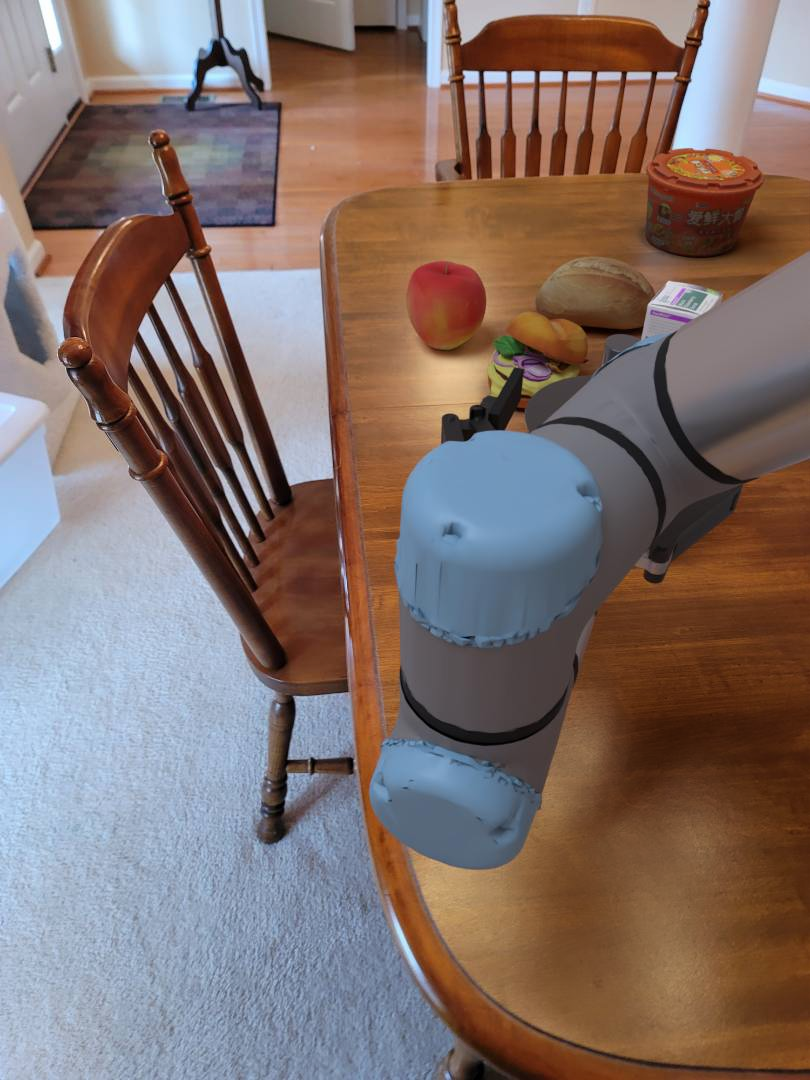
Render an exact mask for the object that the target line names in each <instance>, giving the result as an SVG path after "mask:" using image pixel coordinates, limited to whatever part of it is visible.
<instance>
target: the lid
mask: <svg viewBox="0 0 810 1080" xmlns="http://www.w3.org/2000/svg"><path fill="white" fill-rule="evenodd" d="M639 341H641V340H640V339H639V338H638V337H637V336H633V335H630V334H626V333H625V334H623V333H618V334H617V333H616V334H611V335H610V336H608V337H606V339H605V340H604V345H603V350H602V356H601V361H600V366H599V368H600V367H601V366H603V365H604V364H605V363H607V362H608V361H610V360H611V359H612V358H614V357H615V356H616V355H618V354H620V353H621V352H623V351H624V350H626V349H628V348H629V347H631V346H633V345H635V344H636V343H638V342H639ZM592 376H593V374H588V375H587V374H586V375H578V376H576V377H570V378H566V379H562V380H559V381H556V382H553V383H551V384H549V385H547V386H545V387H543V388H541V389H540V390H539V391H538V392H536V393H535V394H534V395H533V396H532V397H531V399H530V400H529V402H528V403H527V406H526V408H524V417H523V421H524V427H525V430H526V433H528V434H530V433H531V432H532V431H534V430H535V429H536V428H537V427H538V426H540V425H542V424H543V423H544V422H545V421H546V420H547V419H548V418H549V417H551V416H552V415H553V414H554V413H555V412H556V411H557V410H558V409H559V408H560V407H562V406H563V405H564V404H565V403H566V402H567V401H568V400H569V399H570V398H571V397H572V396H574V395H575V394H576V393H577V392H578V391H579V390H580V389H581V388H582V387H583V386H585V385H586V384H587V383H588V382H589V381H590V379H591V378H592Z"/></svg>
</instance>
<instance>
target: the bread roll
mask: <svg viewBox="0 0 810 1080" xmlns="http://www.w3.org/2000/svg"><path fill="white" fill-rule="evenodd" d="M656 294H657V293H656V292H655V289H654V287H653V286H652V284H651V283H650V282H649V280H648V279H646V277H645V276H644V274H643V273H641V272H640V271H638V270H637V269H636V268H634V267H633V266H632V265H630V264H628V263H627V262H625V261H623V260H622V261H621V260H618V259H616V258H611V257H602V256H584V257H579V258H578V257H577V258H575V259H572V260H570V261H568V262H566V263H564V264H562V265H560V266H559V267H558V268H557V269H556V270H554V271H553V272H552V274H550V276H549V277H548V279H546V281H545V282H544V283H543V284H542V286H541V287H540V289H538V292H537V293H536V297H535V308H536V312H537V313H539V314H541V315H543V316H545V317H546V318H548V319H549V320H553V319H565V320H568V321H571V322H573V323H575V324H577V325H579V326H580V327H592V328H603V329H616V330H632V329H633V330H634V329H637V328H638V329H639V328H642V327H644V323H645V318H646V313H647V307H648V304H649V303H650V302H651V300H652V299H653V298H654V297H655V295H656Z"/></svg>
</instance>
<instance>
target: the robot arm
mask: <svg viewBox="0 0 810 1080" xmlns="http://www.w3.org/2000/svg"><path fill="white" fill-rule="evenodd" d="M600 366H601V365H600ZM600 366H599V368H598V369H597V370H596V371H595V372H593V374H592V375H593V376H592V378H591V379H590V381H589V382H588V383H587V384H586V385H585V386H583V387H582V388H581V389H580V390H579V391H578V392H577V393H576V394H575V395H574V396H572V397H571V398H570V399H569V400H568V401H567V402H566V403H565V404H564V405H563V406H562V407H560V408H559V409H558V410H557V411H556V412H555V413H554V414H553V415H552V416H551V417H549V418H548V419H547V420H546V421H545V422H544V423H543V424H542V425H540V426H538V427H537V428H536V429H535V430H534V431H532V432H531V433H530V434H528V433H527V432H521V431H516V430H515V431H513V430H506V429H507V427H508V425H509V423H510V421H511V419H512V417H513V415H514V413H515V411H516V410H517V408H518V407H517V406H518V404H519V402H520V400H521V393H522V384H523V374H524V369H521V368H516V367H514V369H513V370H512V372H511V374H510V376H509V378H508V379H507V381H506V383H505V385H504V386H503V388H502V390H501V392H500V393H499V395H498V397H494V396H491V395H486V396H485V397H484V398H482V400H481V402H480V404H473V405H470V407H469V411H468V418H465V419H464V418H462V419H461V418H460V417H459V416H458V414H455V413H445V414H443V415H442V416H441V427H440V428H441V431H440V433H441V435H440V444H439V445H437V446H436V447H435V448H433V449H432V450H431V451H429V452H428V453H427V454H425V455H424V456H423V457H422V458H421V459H420V460H419V461H418V462H417V463H416V465H415V466H414V468H413V469H412V470H411V472H410V474H409V476H408V477H407V480H406V482H405V485H404V487H403V491H402V495H401V504H400V505H401V507H400V508H401V509H400V523H399V524H400V525H399V538H398V539H397V540H396V554H395V557H394V560H393V561H394V566H393V567H394V572H395V573H394V574H395V581H396V585H397V590H398V614H399V615H398V617H399V651H400V652H399V659H400V661H399V662H400V666H399V673H398V690H399V694H398V695H399V698H398V699H399V709H398V714H397V718H396V722H395V724H394V726H393V729H392V730H391V732H390V734H389V736H388V738H386V739H385V740H383V741H382V743H381V745H380V752H381V753H380V754H379V758H378V760H377V763H376V766H375V769H374V771H373V774H372V777H371V780H370V783H369V788H368V789H369V790H368V796H369V797H368V798H369V802H370V803H369V804H370V805H371V807H372V808H371V809H372V810H373V812H374V815H375V817H376V818H377V820H378V821H379V823H380V824H381V825H382V826H383V827H384V828H385V830H387V831H388V833H390V835H391V836H393V838H395V839H396V840H397V841H399V842H400V843H402V844H403V845H405V846H406V847H407V848H409V849H411V850H412V851H414V852H416V853H417V854H419V855H422V856H423V857H425V858H428V859H430V860H433V861H437V862H439V863H441V864H444V865H446V866H449V867H454V868H457V869H464V870H471V871H486V870H494V869H497V868H500V867H503V866H505V865H507V864H509V863H510V862H513V861H514V860H515V858H517V857H518V856H519V855H520V853H521V852H522V850H523V849H524V846H525V844H526V841H527V839H528V836H529V832H530V831H531V827H532V824H533V822H534V820H535V817H536V814H537V812H539V811H540V810H541V809H542V804H543V792H544V789H545V786H546V782H547V779H548V775H549V773H550V769H551V765H552V762H553V759H554V756H555V752H556V748H557V745H558V742H559V739H560V735H561V732H562V728H563V725H564V721H565V718H566V714H567V710H568V706H569V702H570V698H571V695H572V691H573V689H574V686H575V684H576V682H577V679H578V674H579V672H580V669H581V667H582V663H583V660H584V657H585V654H586V650H587V647H588V644H589V640H590V637H591V634H592V631H593V628H594V624H595V617H596V615H597V614H598V611H599V609H600V608H601V607H602V605H603V604H604V603H605V602H606V600H607V599H608V598H609V597H610V596H611V594H613V592H614V591H615V590H616V589H617V587H618V586H619V585H620V584H621V583H622V582H623V580H624V578H625V577H626V576H627V575H628V574H629V573H630V571H632V569H633V568H634V567H636V568H639V569H643V570H644V571H643V575H642V577H643V579H644V581H646V582H648V583H649V584H654V585H657V584H660V583H663V581H664V580H665V578H666V575H667V573H668V571H669V568H670V565H671V563H672V562H673V561H675V560H676V559H677V558H679V557H680V556H681V555H682V554H683V553H685V552H686V551H687V550H689V548H691V547H692V546H694V545H695V544H696V543H698V542H699V541H700V540H701V539H702V538H704V537H705V536H706V535H707V534H709V533H710V532H711V531H713V530H714V529H715V528H716V527H718V525H720V524H721V523H723V522H724V521H725V520H727V518H728V517H730V516H731V515H733V514H734V512H735V510H736V507H737V504H738V502H739V498H740V496H741V493H742V490H743V487H744V486H745V484H747V483H750V482H753V481H755V480H757V479H759V478H760V477H763V476H767V475H768V474H772V473H774V472H777V471H779V470H783V469H785V468H787V467H790V466H793V465H795V464H799V463H801V462H803V461H807V460H809V459H810V250H808V251H807V252H805V253H803V254H802V255H800V256H799V257H797V258H795V259H793V260H791V261H790V262H788V263H786V264H785V265H783V266H781V267H779V268H778V269H776V270H774V271H773V272H771V273H769V274H768V275H766V276H764V277H762V278H760V279H759V280H757V281H755V282H754V283H753V284H751V285H749V286H748V287H746V288H744V289H742V290H740V291H739V292H737V293H736V294H734V295H732V296H730V297H728V298H727V299H725V300H724V301H721V303H720V304H718V305H717V306H715V307H713V308H712V309H710V310H708V311H707V312H705V313H703V314H701V315H700V316H698V317H696V318H695V319H693V320H691V321H690V322H688V323H686V324H684V325H683V326H681V327H680V328H679V330H677V331H675V332H673V333H667V334H659V335H654V336H650V337H648V338H645V339H643V340H640V341H639V342H638V343H636V344H635V345H633V346H631V347H629V348H628V349H626V350H624V351H623V352H621V353H620V354H618V355H616V356H615V357H614V358H612V359H611V360H610V361H608V362H607V363H605V364H604V365H603V366H601V367H600Z"/></svg>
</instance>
